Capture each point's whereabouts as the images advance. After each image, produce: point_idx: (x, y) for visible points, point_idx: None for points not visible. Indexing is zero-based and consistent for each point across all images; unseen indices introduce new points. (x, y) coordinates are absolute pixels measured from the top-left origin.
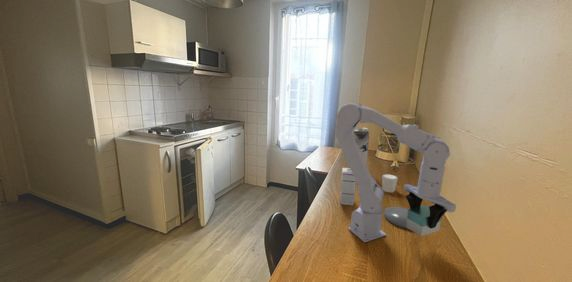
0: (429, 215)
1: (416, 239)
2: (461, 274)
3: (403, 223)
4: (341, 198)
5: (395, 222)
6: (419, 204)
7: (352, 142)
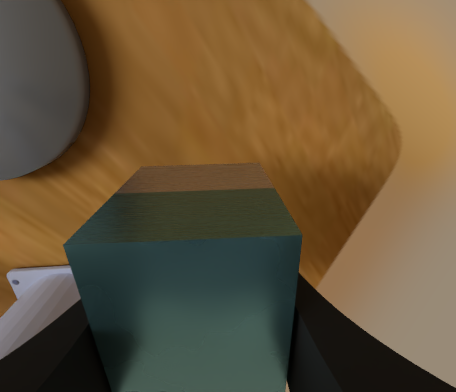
0: (275, 388)
1: (167, 164)
2: (370, 185)
3: (48, 148)
4: None
5: (27, 173)
6: (76, 370)
7: None
